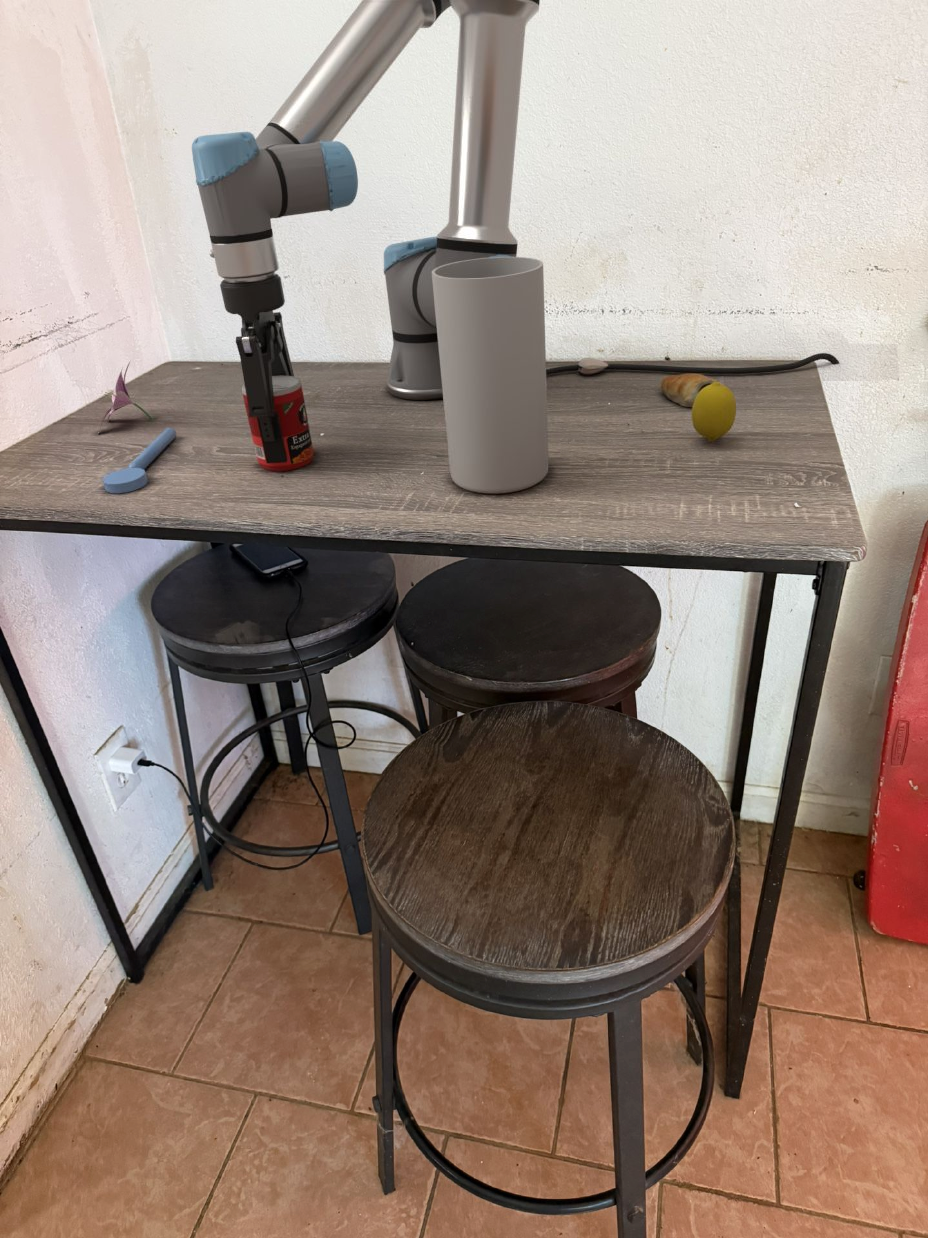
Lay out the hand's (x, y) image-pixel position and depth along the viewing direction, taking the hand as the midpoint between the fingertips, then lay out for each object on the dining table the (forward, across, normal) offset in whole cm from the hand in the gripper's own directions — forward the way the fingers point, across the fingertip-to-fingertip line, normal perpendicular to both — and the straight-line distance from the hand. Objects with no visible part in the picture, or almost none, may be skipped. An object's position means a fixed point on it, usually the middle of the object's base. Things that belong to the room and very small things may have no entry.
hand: (284, 450), depth 117 cm
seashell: (+2, -33, +45) cm, 56 cm away
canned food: (+2, 0, 0) cm, 2 cm away
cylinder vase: (+2, +9, +30) cm, 31 cm away
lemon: (+2, +1, +58) cm, 58 cm away
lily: (+2, -21, -32) cm, 38 cm away
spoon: (+2, -2, -21) cm, 21 cm away
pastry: (+2, -17, +58) cm, 60 cm away
